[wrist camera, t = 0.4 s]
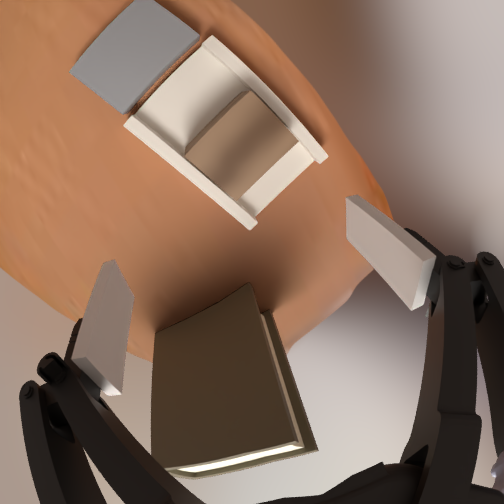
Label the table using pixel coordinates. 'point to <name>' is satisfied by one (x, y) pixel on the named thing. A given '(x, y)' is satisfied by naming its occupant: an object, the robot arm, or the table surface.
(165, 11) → the plinth
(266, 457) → the book
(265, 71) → the table surface
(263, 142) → the block
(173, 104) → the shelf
